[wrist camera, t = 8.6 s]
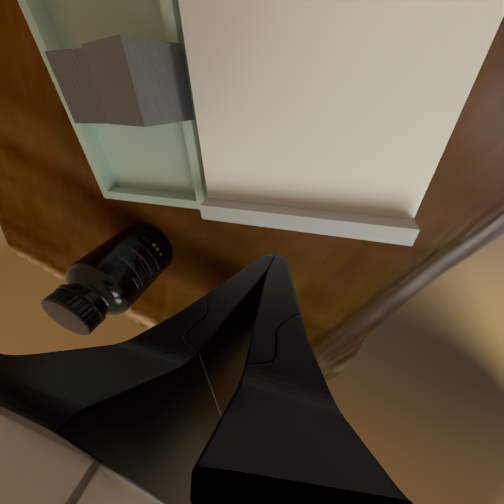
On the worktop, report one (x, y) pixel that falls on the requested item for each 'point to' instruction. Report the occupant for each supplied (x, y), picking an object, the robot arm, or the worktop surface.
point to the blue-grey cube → (140, 80)
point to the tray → (121, 136)
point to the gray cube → (77, 85)
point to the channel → (329, 107)
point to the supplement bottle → (109, 278)
